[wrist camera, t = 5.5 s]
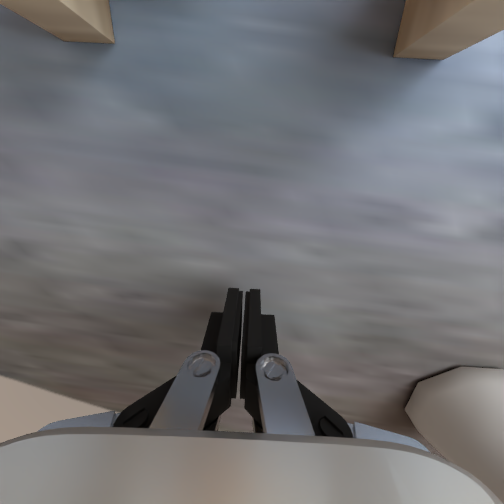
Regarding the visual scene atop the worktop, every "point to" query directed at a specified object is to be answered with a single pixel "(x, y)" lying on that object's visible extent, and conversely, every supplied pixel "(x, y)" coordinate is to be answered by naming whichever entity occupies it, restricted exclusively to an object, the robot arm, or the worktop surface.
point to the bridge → (407, 46)
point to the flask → (464, 420)
